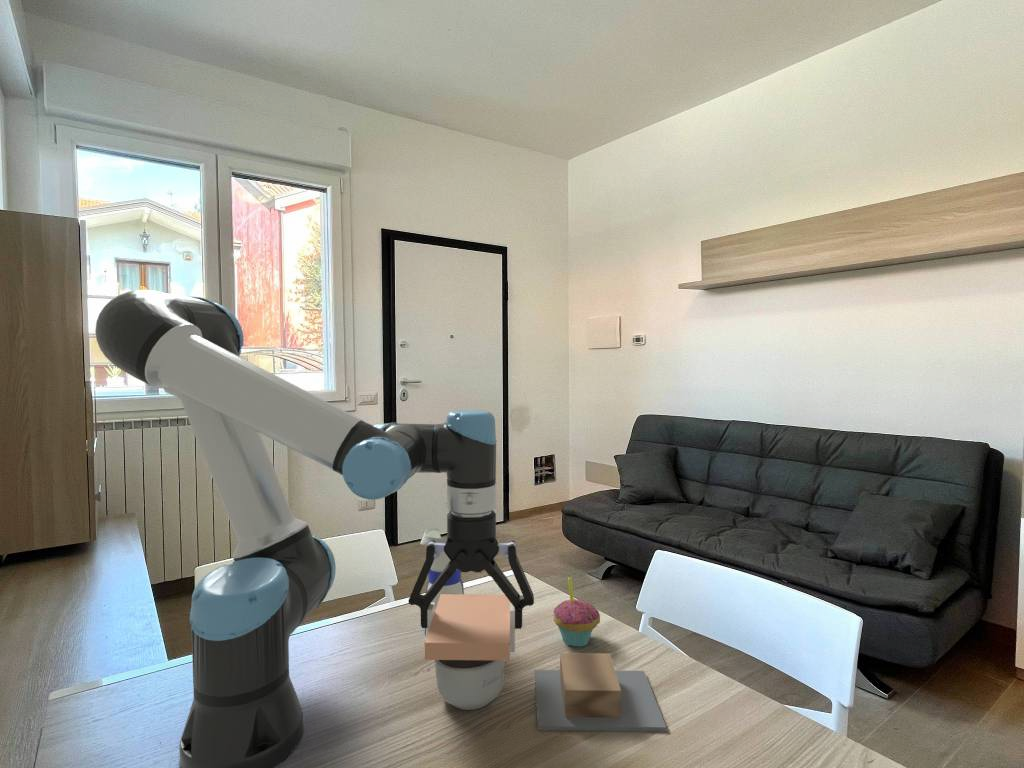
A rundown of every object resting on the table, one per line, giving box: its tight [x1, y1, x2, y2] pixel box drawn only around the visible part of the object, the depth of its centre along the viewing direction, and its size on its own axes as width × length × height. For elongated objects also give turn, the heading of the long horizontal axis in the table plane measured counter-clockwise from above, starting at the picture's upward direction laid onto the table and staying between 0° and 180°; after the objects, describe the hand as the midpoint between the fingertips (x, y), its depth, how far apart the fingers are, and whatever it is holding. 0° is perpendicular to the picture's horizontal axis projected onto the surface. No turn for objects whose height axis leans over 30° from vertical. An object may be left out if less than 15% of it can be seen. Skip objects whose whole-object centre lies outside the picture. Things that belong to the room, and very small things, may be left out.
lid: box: [424, 593, 511, 661], centre depth 87 cm, size 12×16×2 cm
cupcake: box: [553, 572, 601, 647], centre depth 103 cm, size 9×8×12 cm
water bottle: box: [420, 501, 465, 637], centre depth 106 cm, size 8×9×25 cm
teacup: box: [434, 660, 506, 711], centre depth 87 cm, size 14×11×8 cm
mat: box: [534, 669, 667, 732], centre depth 85 cm, size 18×14×1 cm
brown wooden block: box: [559, 652, 621, 718], centre depth 85 cm, size 8×10×4 cm
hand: (471, 647), depth 87 cm, fingers closed on lid, 12 cm apart
